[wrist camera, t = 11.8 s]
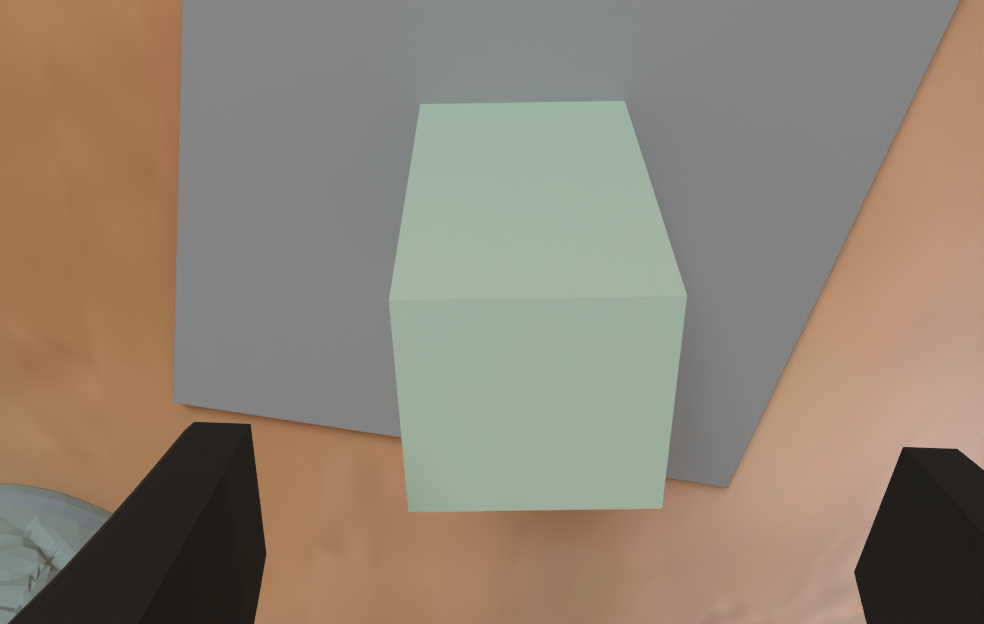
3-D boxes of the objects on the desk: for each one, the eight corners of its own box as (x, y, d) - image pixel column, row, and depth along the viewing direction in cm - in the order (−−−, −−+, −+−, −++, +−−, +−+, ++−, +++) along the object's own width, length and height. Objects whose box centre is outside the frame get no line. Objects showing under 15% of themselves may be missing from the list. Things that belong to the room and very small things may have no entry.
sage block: (625, 100, 18) (686, 295, 13) (613, 275, 21) (662, 508, 15) (420, 104, 18) (389, 300, 13) (431, 277, 21) (409, 512, 15)
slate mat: (986, -83, 17) (996, -78, 17) (724, 476, 25) (727, 487, 24) (195, -268, 15) (188, -267, 15) (177, 392, 23) (172, 402, 23)
